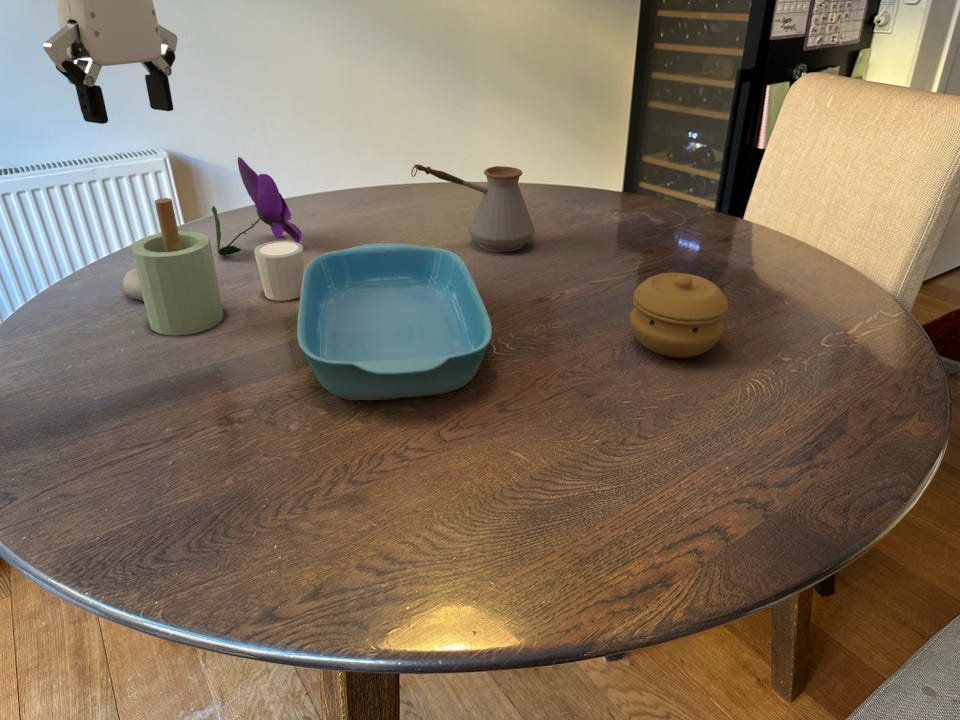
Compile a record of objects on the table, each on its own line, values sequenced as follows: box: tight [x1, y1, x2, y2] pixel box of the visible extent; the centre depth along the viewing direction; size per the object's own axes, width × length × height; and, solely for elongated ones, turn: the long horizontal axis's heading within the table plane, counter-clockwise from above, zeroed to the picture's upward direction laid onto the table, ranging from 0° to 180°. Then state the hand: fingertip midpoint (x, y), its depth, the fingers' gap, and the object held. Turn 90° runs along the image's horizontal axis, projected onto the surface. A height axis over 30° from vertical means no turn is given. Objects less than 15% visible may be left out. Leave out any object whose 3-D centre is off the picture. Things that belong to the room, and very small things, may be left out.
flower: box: [211, 156, 303, 258], centre depth 116 cm, size 15×15×14 cm
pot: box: [629, 272, 729, 359], centre depth 89 cm, size 12×12×10 cm
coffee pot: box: [410, 164, 535, 253], centre depth 118 cm, size 21×12×15 cm, turn 109°
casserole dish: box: [296, 242, 493, 402], centre depth 89 cm, size 37×22×7 cm, turn 10°
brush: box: [154, 197, 182, 252], centre depth 92 cm, size 4×4×16 cm
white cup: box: [253, 240, 305, 302], centre depth 102 cm, size 7×7×7 cm
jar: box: [130, 230, 224, 336], centre depth 93 cm, size 9×9×11 cm
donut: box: [121, 266, 144, 302], centre depth 103 cm, size 10×4×10 cm
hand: (130, 115), depth 84 cm, fingers open, 9 cm apart
